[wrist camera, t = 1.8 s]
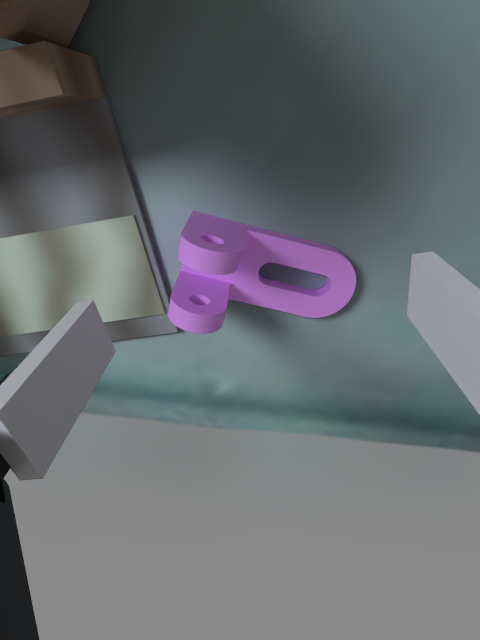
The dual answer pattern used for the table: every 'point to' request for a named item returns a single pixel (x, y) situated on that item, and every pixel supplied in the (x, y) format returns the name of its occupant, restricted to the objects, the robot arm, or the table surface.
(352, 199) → the table surface
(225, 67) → the table surface
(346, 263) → the bracket
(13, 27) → the wooden block
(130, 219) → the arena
